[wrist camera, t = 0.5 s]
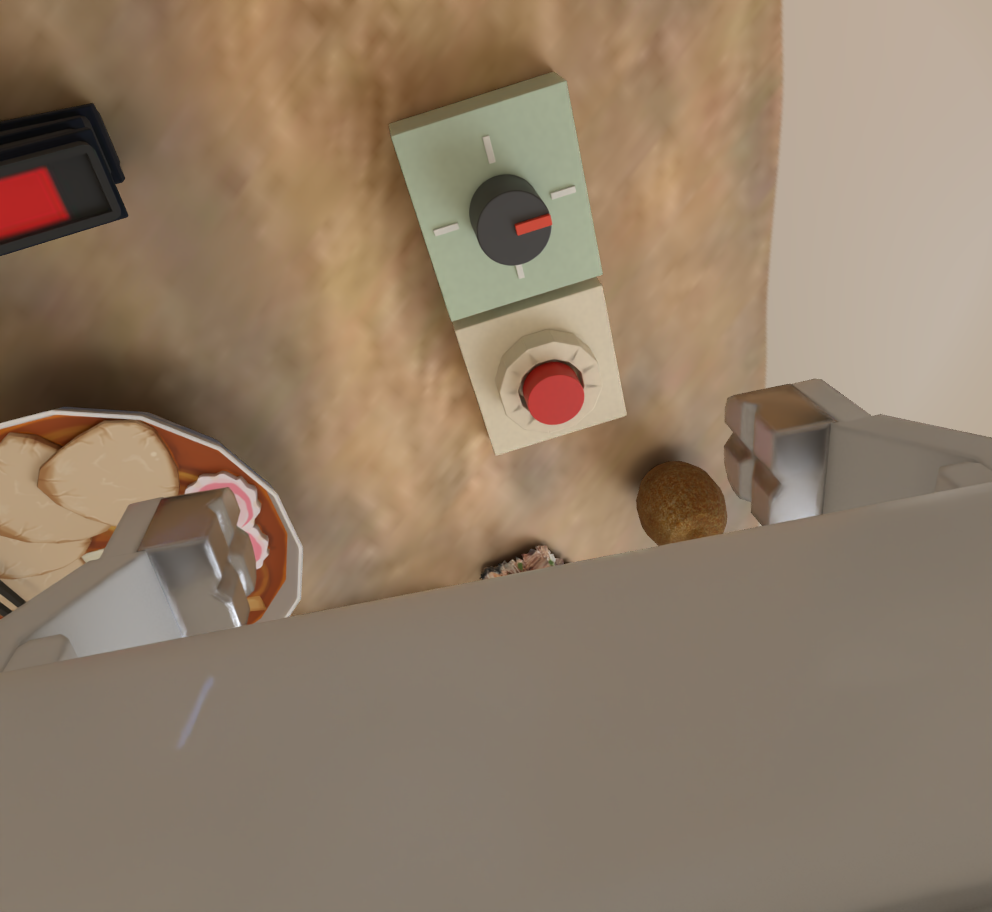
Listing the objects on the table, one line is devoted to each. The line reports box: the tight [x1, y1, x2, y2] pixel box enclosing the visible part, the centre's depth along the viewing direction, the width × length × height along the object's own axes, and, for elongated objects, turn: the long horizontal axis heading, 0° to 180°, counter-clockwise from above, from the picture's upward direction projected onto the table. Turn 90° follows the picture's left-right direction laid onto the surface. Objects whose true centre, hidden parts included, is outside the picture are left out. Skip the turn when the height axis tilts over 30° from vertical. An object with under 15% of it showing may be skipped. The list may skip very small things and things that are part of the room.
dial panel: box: [389, 72, 603, 322], centre depth 44 cm, size 11×10×3 cm
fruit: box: [636, 461, 727, 546], centre depth 56 cm, size 6×6×8 cm
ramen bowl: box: [0, 407, 303, 625], centre depth 50 cm, size 25×23×8 cm
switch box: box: [452, 277, 627, 456], centre depth 50 cm, size 10×10×4 cm
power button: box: [523, 362, 585, 425], centre depth 48 cm, size 4×4×2 cm
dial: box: [469, 174, 552, 266], centre depth 41 cm, size 4×4×4 cm
